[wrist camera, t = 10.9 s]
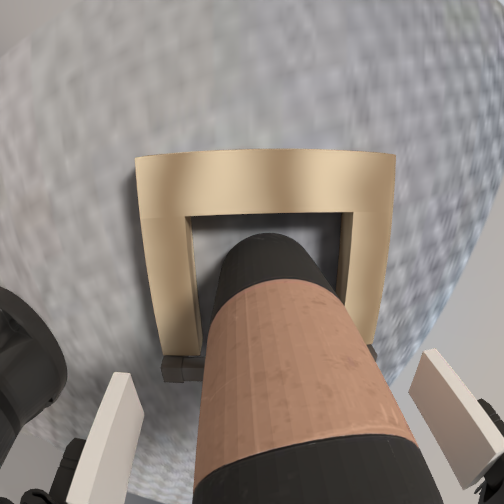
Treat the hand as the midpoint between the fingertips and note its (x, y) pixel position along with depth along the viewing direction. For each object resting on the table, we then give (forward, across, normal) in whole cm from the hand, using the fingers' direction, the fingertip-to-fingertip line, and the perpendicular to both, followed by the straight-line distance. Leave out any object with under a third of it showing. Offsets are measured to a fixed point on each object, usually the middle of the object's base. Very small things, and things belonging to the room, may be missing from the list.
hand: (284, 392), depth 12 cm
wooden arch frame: (+12, 0, +1) cm, 12 cm away
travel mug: (+12, 0, 0) cm, 13 cm away
